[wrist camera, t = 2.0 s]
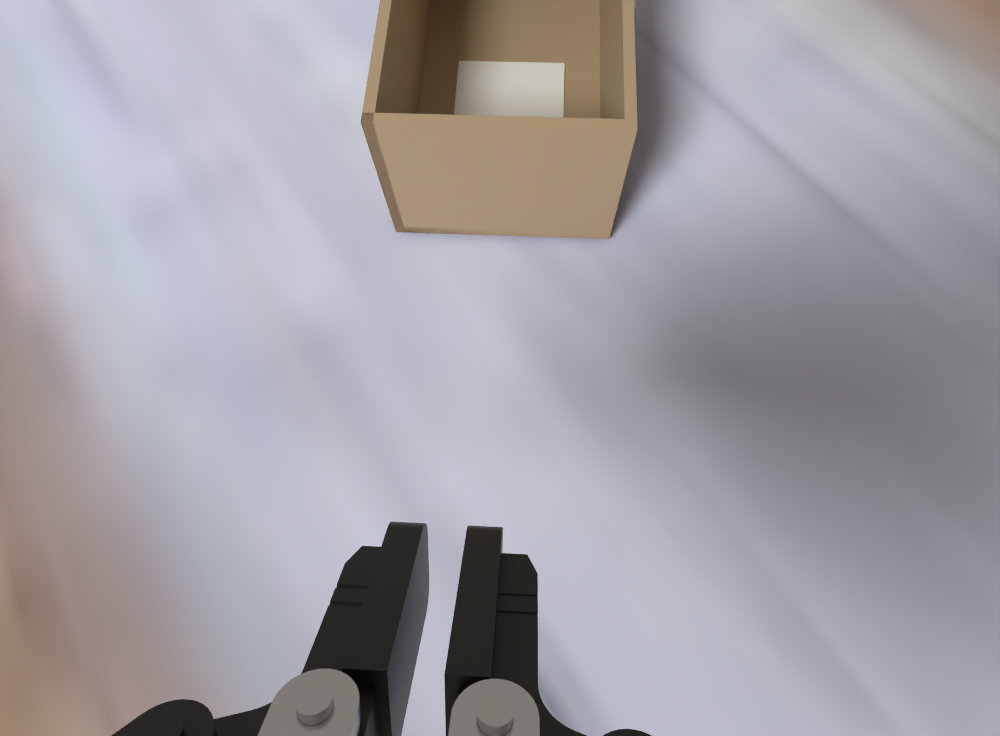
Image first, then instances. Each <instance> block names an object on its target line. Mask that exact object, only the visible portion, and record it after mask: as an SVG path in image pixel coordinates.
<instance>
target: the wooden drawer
mask: <svg viewBox="0 0 1000 736" xmlns="http://www.w3.org/2000/svg"><path fill="white" fill-rule="evenodd" d="M361 125H362V128H363V131H364V134H365V137H366V140H367V143H368V146H369V149H370V152H371V156H372V159H373V162H374V165H375V168H376V171H377V174H378V177H379V180H380V183H381V187H382V190H383V193H384V196H385V199H386V202H387V205H388V208H389V211H390V214H391V217H392V221H393V224H394V227H395V230H396V232H412V233H443V234H473V235H504V236H534V237H565V238H596V239H609V237H610V234H611V230H612V226H613V222H614V218H615V214H616V211H617V207H618V203H619V199H620V195H621V191H622V188H623V184H624V180H625V176H626V172H627V168H628V164H629V161H630V157H631V153H632V149H633V145H634V141H635V138H636V134H637V130H638V127H637V92H636V58H635V23H634V0H380V5H379V11H378V17H377V24H376V30H375V36H374V42H373V49H372V55H371V61H370V68H369V74H368V80H367V86H366V93H365V99H364V105H363V112H362V118H361Z"/></svg>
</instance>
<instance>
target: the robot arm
mask: <svg viewBox="0 0 1000 736" xmlns="http://www.w3.org/2000/svg"><path fill="white" fill-rule="evenodd" d="M502 540H503V527H485V526H468V527H467V532H466V539H465V545H464V552H463V558H462V565H461V571H460V578H459V584H458V591H457V597H456V604H455V610H454V617H453V623H452V630H451V636H450V643H449V650H448V656H447V663H446V669H445V710H446V736H586V735H584V734H581V733H579V732H576V731H574V730H572V729H570V728H568V727H566V726H564V725H563V724H561V723H560V722H559V721H557V720H556V719H555V718H554V717H553V716H552V715H551V714H550V713H549V711H548V710H547V709H546V707H545V706H544V704H543V702H542V700H541V697H540V694H539V690H538V617H537V614H538V599H537V595H538V584H537V572H536V570H535V568H534V566H533V565H532V563H531V561H530V559H529V557H528V555H525V554H506V553H502ZM428 595H429V562H428V533H427V525H426V523H406V522H390V524H389V526H388V528H387V531H386V534H385V537H384V540H383V543H382V547H372V546H362V547H361V548H360V549H359V550H358V551H357V552H356V553H355V554H354V555H353V556H352V557H351V558H350V559H349V560H348V561H347V562H346V563H345V565H344V568H343V570H342V573H341V575H340V578H339V580H338V583H337V588H335V590H334V593H333V596H332V598H331V601H330V605H329V606H328V608H327V611H326V613H325V616H324V618H323V621H322V623H321V626H320V629H319V631H318V634H317V636H316V639H315V641H314V644H313V646H312V649H311V651H310V654H309V656H308V659H307V662H306V664H305V667H304V669H303V671H302V673H301V674H300V675H298V676H296V677H295V678H293V679H291V680H290V681H289V682H288V683H286V684H285V685H284V686H283V687H282V688H281V689H280V690H279V692H278V693H277V694H276V696H275V698H274V699H273V701H272V702H271V703H269V704H267V705H265V706H263V707H260V708H258V709H254V710H251V711H247V712H243V713H238V714H234V715H230V716H226V717H222V718H217V719H213V716H212V714H211V712H210V711H209V709H208V708H207V707H206V706H205V705H203V704H201V703H199V702H197V701H193V700H184V699H182V700H173V701H169V702H165V703H163V704H160V705H157V706H155V707H153V708H151V709H149V710H148V711H146V712H144V713H143V714H141V715H140V716H138V717H137V718H136V719H134V720H133V721H131V722H130V723H129V724H127V725H126V726H124V727H123V728H122V729H120V730H119V731H117V732H116V733H115V734H113V735H112V736H401V733H402V728H403V723H404V718H405V713H406V709H407V704H408V699H409V694H410V689H411V684H412V679H413V675H414V670H415V665H416V660H417V655H418V650H419V645H420V641H421V636H422V631H423V626H424V621H425V616H426V611H427V605H428ZM603 736H651V735H649V734H647V733H644V732H642V731H637V730H632V729H620V730H615V731H611V732H609V733H607V734H605V735H603Z"/></svg>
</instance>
